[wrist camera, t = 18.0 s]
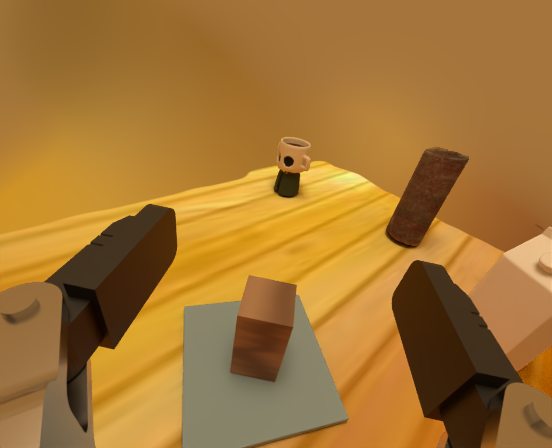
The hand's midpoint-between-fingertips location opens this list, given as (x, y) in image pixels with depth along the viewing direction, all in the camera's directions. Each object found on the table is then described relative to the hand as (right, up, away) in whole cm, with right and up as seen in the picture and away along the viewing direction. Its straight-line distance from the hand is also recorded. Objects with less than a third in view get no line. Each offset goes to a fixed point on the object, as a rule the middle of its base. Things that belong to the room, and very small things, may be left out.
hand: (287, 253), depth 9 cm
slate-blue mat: (-3, -15, +22) cm, 27 cm away
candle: (+27, -2, +50) cm, 57 cm away
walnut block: (-3, -14, +22) cm, 26 cm away
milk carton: (+28, -17, +29) cm, 43 cm away
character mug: (+2, +9, +59) cm, 60 cm away
